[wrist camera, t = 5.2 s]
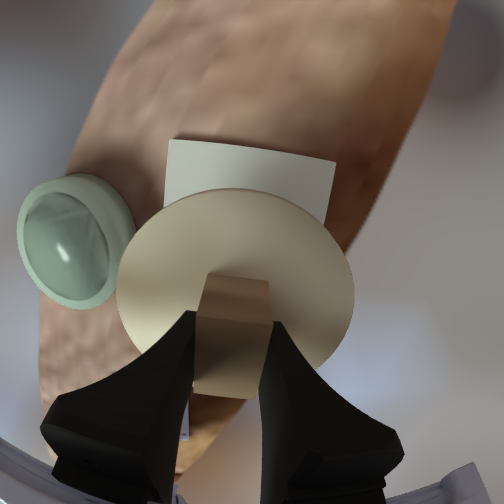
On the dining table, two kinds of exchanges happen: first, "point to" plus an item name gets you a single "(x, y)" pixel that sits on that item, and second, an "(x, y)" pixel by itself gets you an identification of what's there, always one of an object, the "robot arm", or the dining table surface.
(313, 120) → the dining table surface
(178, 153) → the mat
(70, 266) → the bowl
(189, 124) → the dining table surface
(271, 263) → the lid
